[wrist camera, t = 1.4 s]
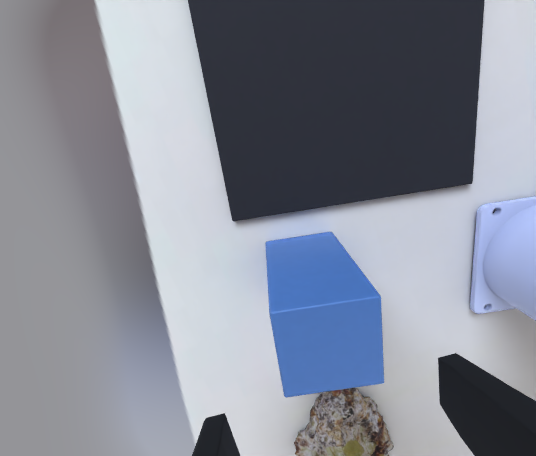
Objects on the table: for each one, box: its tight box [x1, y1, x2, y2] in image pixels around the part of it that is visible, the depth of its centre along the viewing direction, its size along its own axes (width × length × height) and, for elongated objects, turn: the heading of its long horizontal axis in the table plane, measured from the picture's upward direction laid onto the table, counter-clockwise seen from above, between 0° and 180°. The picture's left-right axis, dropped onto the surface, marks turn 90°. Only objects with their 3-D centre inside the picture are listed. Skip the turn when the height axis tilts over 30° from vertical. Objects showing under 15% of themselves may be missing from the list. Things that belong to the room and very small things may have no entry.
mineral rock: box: [294, 388, 394, 456], centre depth 23 cm, size 11×4×8 cm
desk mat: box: [188, 0, 484, 221], centre depth 15 cm, size 15×20×1 cm
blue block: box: [266, 232, 384, 397], centre depth 16 cm, size 4×4×8 cm
